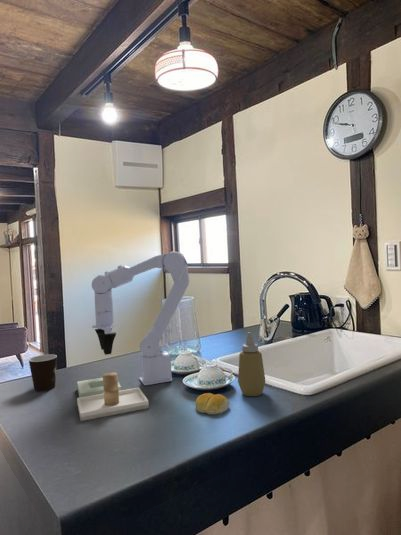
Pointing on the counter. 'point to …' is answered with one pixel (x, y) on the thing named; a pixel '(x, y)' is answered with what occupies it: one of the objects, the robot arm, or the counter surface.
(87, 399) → the tray
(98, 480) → the counter surface
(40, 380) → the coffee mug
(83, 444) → the counter surface
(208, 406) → the bread roll
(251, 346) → the squeeze bottle
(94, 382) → the pin holder
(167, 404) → the counter surface
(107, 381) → the oak pin
